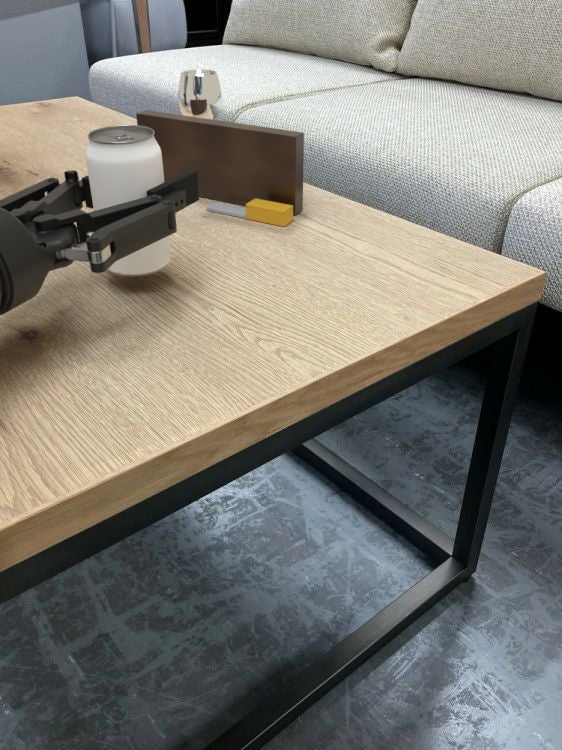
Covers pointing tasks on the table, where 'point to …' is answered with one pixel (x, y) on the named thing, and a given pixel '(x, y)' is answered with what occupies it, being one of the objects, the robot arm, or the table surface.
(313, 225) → the table surface
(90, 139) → the can
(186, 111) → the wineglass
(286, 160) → the backboard
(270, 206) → the knife
